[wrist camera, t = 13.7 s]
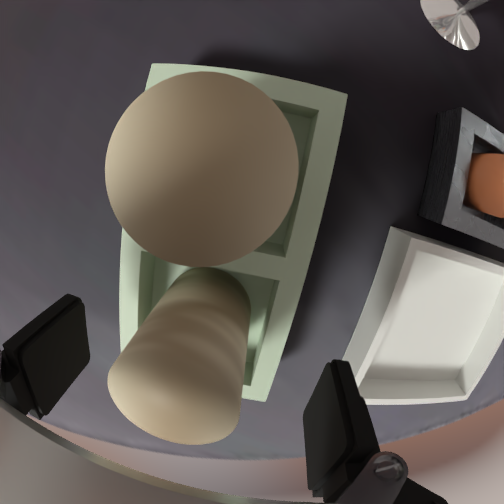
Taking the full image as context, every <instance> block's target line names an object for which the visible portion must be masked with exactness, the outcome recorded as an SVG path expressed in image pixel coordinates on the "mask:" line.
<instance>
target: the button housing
mask: <svg viewBox="0 0 504 504" xmlns="http://www.w3.org/2000/svg"><path fill="white" fill-rule="evenodd" d="M472 153H492V154H504V134H502V133H501V132H499V131H498V130H497V129H495V128H494V127H492V126H491V125H489V124H488V123H486V122H485V121H483V120H482V119H480V118H479V117H477V116H476V115H474V114H473V113H471V112H469V111H468V110H466V109H464V108H463V107H461V108H457V109H452V110H448V111H444V112H440V113H437V117H436V125H435V133H434V139H433V146H432V152H431V157H430V163H429V168H428V173H427V178H426V183H425V187H424V192H423V196H422V200H421V204H420V208H419V212H418V215H419V216H421V217H424V218H426V219H429V220H432V221H434V222H437V223H439V224H442V225H444V226H447V227H450V228H453V229H455V230H458V231H461V232H463V233H466V234H468V235H471V236H474V237H476V238H479V239H481V240H484V241H486V242H489V243H491V244H493V245H496V246H498V247H501V248H503V249H504V218H499V217H496V216H493V215H490V214H487V213H484V212H480V211H477V210H474V209H470V208H468V207H466V206H465V205H464V204H463V199H464V195H465V190H466V185H467V180H468V174H469V169H470V163H471V156H472Z"/></svg>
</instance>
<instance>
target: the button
mask: <svg viewBox="0 0 504 504" xmlns="http://www.w3.org/2000/svg"><path fill="white" fill-rule="evenodd" d="M463 204H464V205H465V206H466V207H468V208H470V209H474V210H477V211H480V212H484V213H487V214H490V215H493V216H496V217H499V218H504V154H492V153H472V156H471V163H470V169H469V174H468V180H467V185H466V190H465V195H464V199H463Z"/></svg>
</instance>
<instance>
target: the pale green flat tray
mask: <svg viewBox="0 0 504 504" xmlns="http://www.w3.org/2000/svg"><path fill="white" fill-rule="evenodd" d="M199 71H209V72H219V73H225V74H229V75H232V76H235V77H238V78H241V79H243V80H245V81H247V82H249V83H251V84H253V85H254V86H256V87H257V88H259V89H260V90H262V91H263V92H264V93H265V94H266V95H267V96H268V97H269V98H271V99H272V100H273V101H274V103H275V104H276V105H277V106H278V108H279V109H280V110H281V111H282V113H283V115H284V116H285V118H286V120H287V121H288V123H289V126H290V128H291V130H292V133H293V135H294V139H295V142H296V146H297V153H298V161H299V166H298V181H297V187H296V191H295V195H294V198H293V201H292V204H291V206H290V208H289V210H288V213H287V214H286V216H285V218H284V219H283V221H282V223H281V224H280V226H279V227H278V228H277V229H276V231H275V232H274V233H273V234H272V235H271V236H270V237H269V238H268V239H267V240H266V241H265V242H264V243H263V244H262V245H261V246H259V247H258V248H256V249H255V250H254V251H252V252H251V253H249V254H247V255H245V256H243V257H242V258H240V259H237V260H234V261H232V262H229V263H226V264H221V265H217V266H210V267H209V268H215V269H219V270H222V271H224V272H226V273H228V274H230V275H232V276H233V277H234V278H236V279H237V280H238V281H239V282H240V283H241V284H242V286H243V287H244V288H245V290H246V292H247V294H248V296H249V299H250V303H251V316H250V326H249V335H248V344H247V353H246V362H245V372H244V381H243V390H242V398H245V399H251V400H257V401H264V402H266V399H267V396H268V393H269V390H270V388H271V385H272V382H273V379H274V376H275V373H276V370H277V367H278V364H279V361H280V358H281V355H282V352H283V349H284V346H285V343H286V340H287V337H288V334H289V331H290V328H291V324H292V321H293V318H294V315H295V311H296V308H297V305H298V301H299V298H300V295H301V291H302V288H303V284H304V281H305V277H306V274H307V270H308V267H309V263H310V259H311V256H312V252H313V248H314V245H315V241H316V237H317V233H318V229H319V225H320V221H321V218H322V214H323V209H324V205H325V201H326V197H327V193H328V189H329V184H330V180H331V176H332V171H333V167H334V162H335V157H336V153H337V148H338V143H339V138H340V133H341V128H342V123H343V118H344V113H345V107H346V102H347V96H348V94H345V93H341V92H338V91H335V90H331V89H328V88H324V87H320V86H317V85H313V84H309V83H305V82H301V81H296V80H292V79H287V78H283V77H278V76H273V75H267V74H262V73H256V72H250V71H243V70H236V69H228V68H220V67H210V66H199V65H184V64H152V66H151V70H150V73H149V77H148V80H147V84H146V88H145V91H146V90H148V89H149V88H151V87H152V86H154V85H156V84H157V83H159V82H161V81H163V80H165V79H168V78H170V77H173V76H176V75H180V74H184V73H189V72H199ZM194 268H200V267H189V266H182V265H177V264H174V263H170V262H167V261H165V260H162V259H160V258H158V257H156V256H154V255H152V254H151V253H149V252H147V251H146V250H145V249H143V248H142V247H141V246H140V245H138V244H137V243H136V242H135V241H134V240H133V239H132V238H131V237H130V236H129V235H128V234H127V232H126V231H125V230H124V228H123V227H122V241H121V258H120V294H119V307H120V343H121V352H122V351H123V350H124V348H125V347H126V345H127V344H128V343H129V341H130V340H131V338H132V337H133V336H134V334H135V333H136V332H137V330H138V329H139V327H140V326H141V325H142V323H143V322H144V321H145V319H146V318H147V317H148V315H149V314H150V313H151V311H152V310H153V308H154V307H155V306H156V304H157V303H158V302H159V300H160V299H161V298H162V296H163V295H164V294H165V293H166V291H167V290H168V289H169V287H170V286H171V285H172V283H173V282H174V281H175V280H176V279H177V278H178V277H179V276H180V275H181V274H182V273H184V272H186V271H188V270H191V269H194Z"/></svg>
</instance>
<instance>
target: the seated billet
mask: <svg viewBox="0 0 504 504" xmlns="http://www.w3.org/2000/svg"><path fill="white" fill-rule="evenodd" d="M298 166H299V161H298V153H297V146H296V142H295V139H294V135H293V133H292V130H291V128H290V126H289V123H288V121H287V120H286V118H285V116H284V115H283V113H282V111H281V110H280V109H279V108H278V106H277V105H276V104H275V103H274V101H273V100H272V99H271V98H269V97H268V96H267V95H266V94H265V93H264V92H263V91H262V90H260V89H259V88H257V87H256V86H254V85H253V84H251V83H249V82H247V81H245V80H243V79H241V78H238V77H235V76H232V75H229V74H225V73H219V72H209V71H199V72H189V73H184V74H180V75H176V76H173V77H170V78H168V79H165V80H163V81H161V82H159V83H157V84H156V85H154V86H152V87H151V88H149V89H148V90H146V91H145V92H144V93H142V94H141V95H140V96H139V97H138V98H137V99H136V100H135V101H134V102H133V103H132V104H131V105H130V106H129V107H128V108H127V110H126V111H125V112H124V114H123V115H122V117H121V118H120V120H119V121H118V123H117V125H116V127H115V129H114V131H113V134H112V136H111V139H110V142H109V145H108V150H107V155H106V163H105V181H106V188H107V193H108V197H109V200H110V204H111V206H112V209H113V211H114V213H115V216H116V217H117V219H118V221H119V222H120V224H121V226H122V227H123V228H124V230H125V231H126V232H127V234H128V235H129V236H130V237H131V238H132V239H133V240H134V241H135V242H136V243H137V244H138V245H140V246H141V247H142V248H143V249H145V250H146V251H147V252H149V253H151V254H152V255H154V256H156V257H158V258H160V259H162V260H165V261H167V262H170V263H174V264H177V265H182V266H189V267H210V266H217V265H221V264H226V263H229V262H232V261H234V260H237V259H240V258H242V257H243V256H245V255H247V254H249V253H251V252H252V251H254V250H255V249H256V248H258V247H259V246H261V245H262V244H263V243H264V242H265V241H266V240H267V239H268V238H269V237H270V236H271V235H272V234H273V233H274V232H275V231H276V229H277V228H278V227H279V226H280V224H281V223H282V221H283V219H284V218H285V216H286V214H287V213H288V210H289V208H290V206H291V204H292V201H293V198H294V195H295V191H296V187H297V181H298Z"/></svg>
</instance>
